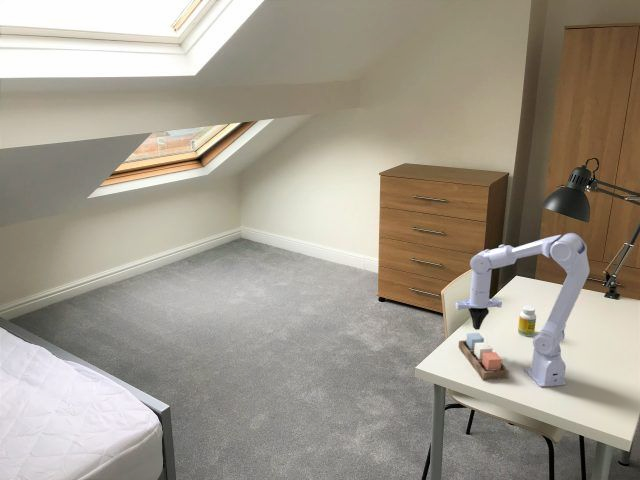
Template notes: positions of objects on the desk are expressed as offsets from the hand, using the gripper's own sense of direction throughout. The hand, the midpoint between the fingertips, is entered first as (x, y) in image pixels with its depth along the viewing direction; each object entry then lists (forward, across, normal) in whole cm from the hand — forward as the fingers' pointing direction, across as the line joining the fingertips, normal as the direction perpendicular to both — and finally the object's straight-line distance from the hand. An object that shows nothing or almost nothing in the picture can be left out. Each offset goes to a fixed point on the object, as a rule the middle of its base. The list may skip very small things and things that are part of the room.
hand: (476, 328), depth 170 cm
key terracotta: (+6, 0, +12) cm, 14 cm away
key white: (+6, 0, +6) cm, 9 cm away
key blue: (+6, 0, 0) cm, 6 cm away
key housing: (+9, 0, +6) cm, 11 cm away
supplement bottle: (+9, -23, -10) cm, 27 cm away
